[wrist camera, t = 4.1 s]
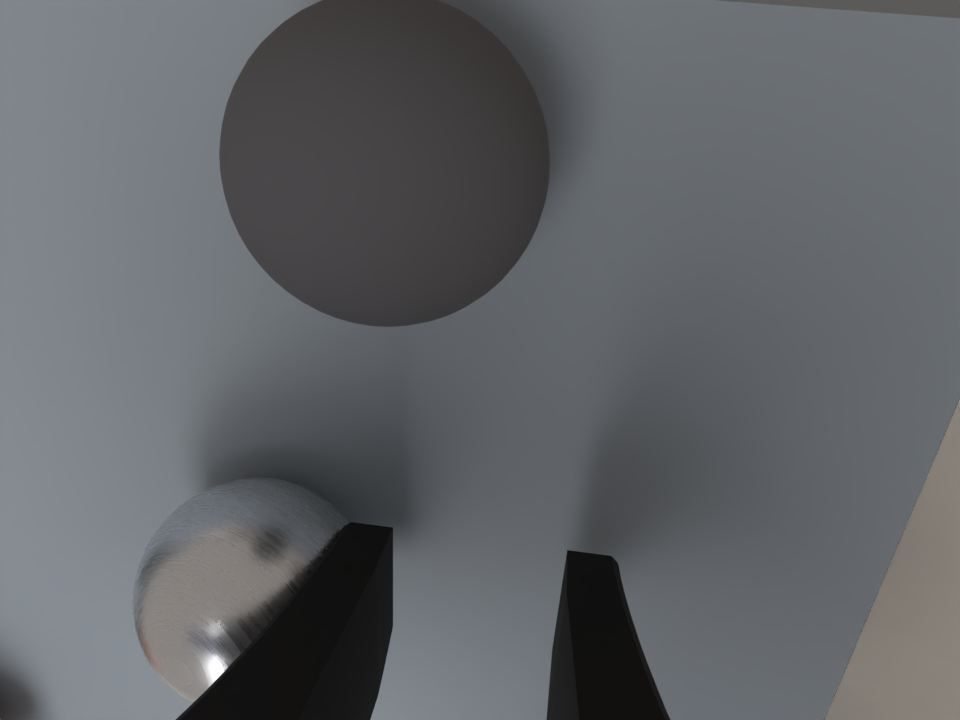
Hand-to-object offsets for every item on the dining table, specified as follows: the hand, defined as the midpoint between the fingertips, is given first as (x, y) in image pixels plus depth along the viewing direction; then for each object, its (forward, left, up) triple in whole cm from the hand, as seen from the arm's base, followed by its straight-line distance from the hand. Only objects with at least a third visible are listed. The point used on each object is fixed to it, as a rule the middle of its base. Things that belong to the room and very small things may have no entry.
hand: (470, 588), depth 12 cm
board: (0, +5, -4) cm, 6 cm away
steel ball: (0, +3, 0) cm, 3 cm away
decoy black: (+6, +1, 0) cm, 6 cm away
